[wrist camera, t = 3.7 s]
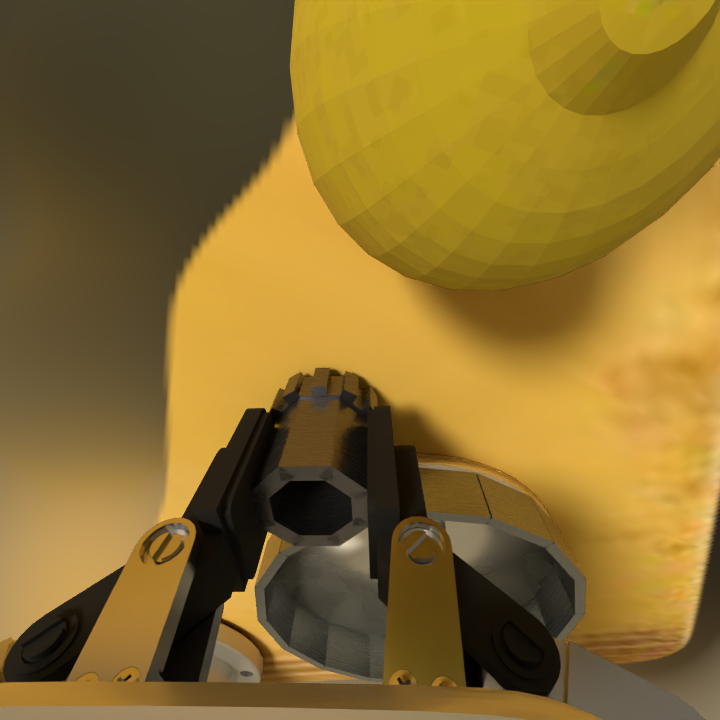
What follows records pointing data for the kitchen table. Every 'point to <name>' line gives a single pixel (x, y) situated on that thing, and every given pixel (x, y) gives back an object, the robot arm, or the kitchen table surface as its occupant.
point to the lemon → (503, 127)
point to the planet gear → (316, 461)
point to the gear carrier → (469, 541)
